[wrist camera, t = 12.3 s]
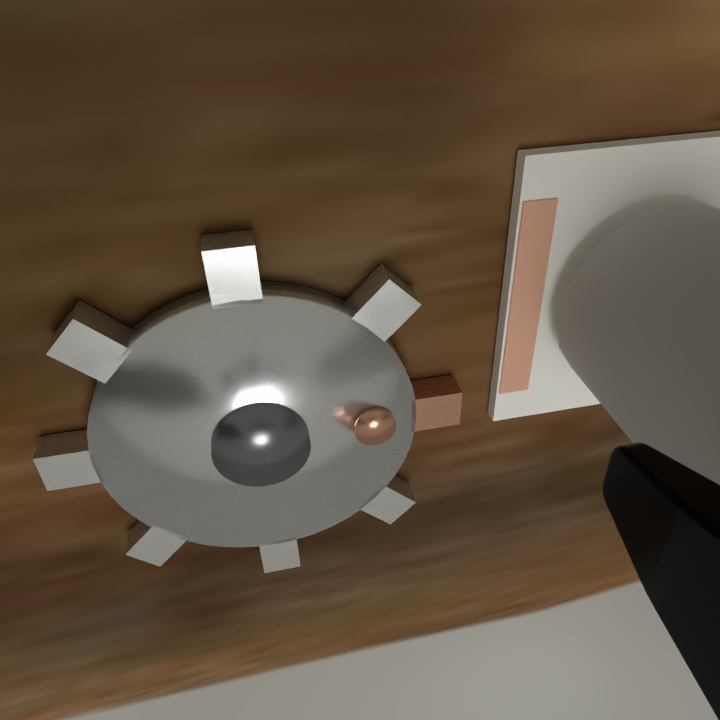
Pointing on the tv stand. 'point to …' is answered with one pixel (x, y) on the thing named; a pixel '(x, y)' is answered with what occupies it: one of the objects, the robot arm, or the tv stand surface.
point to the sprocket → (247, 409)
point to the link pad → (578, 247)
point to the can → (653, 331)
